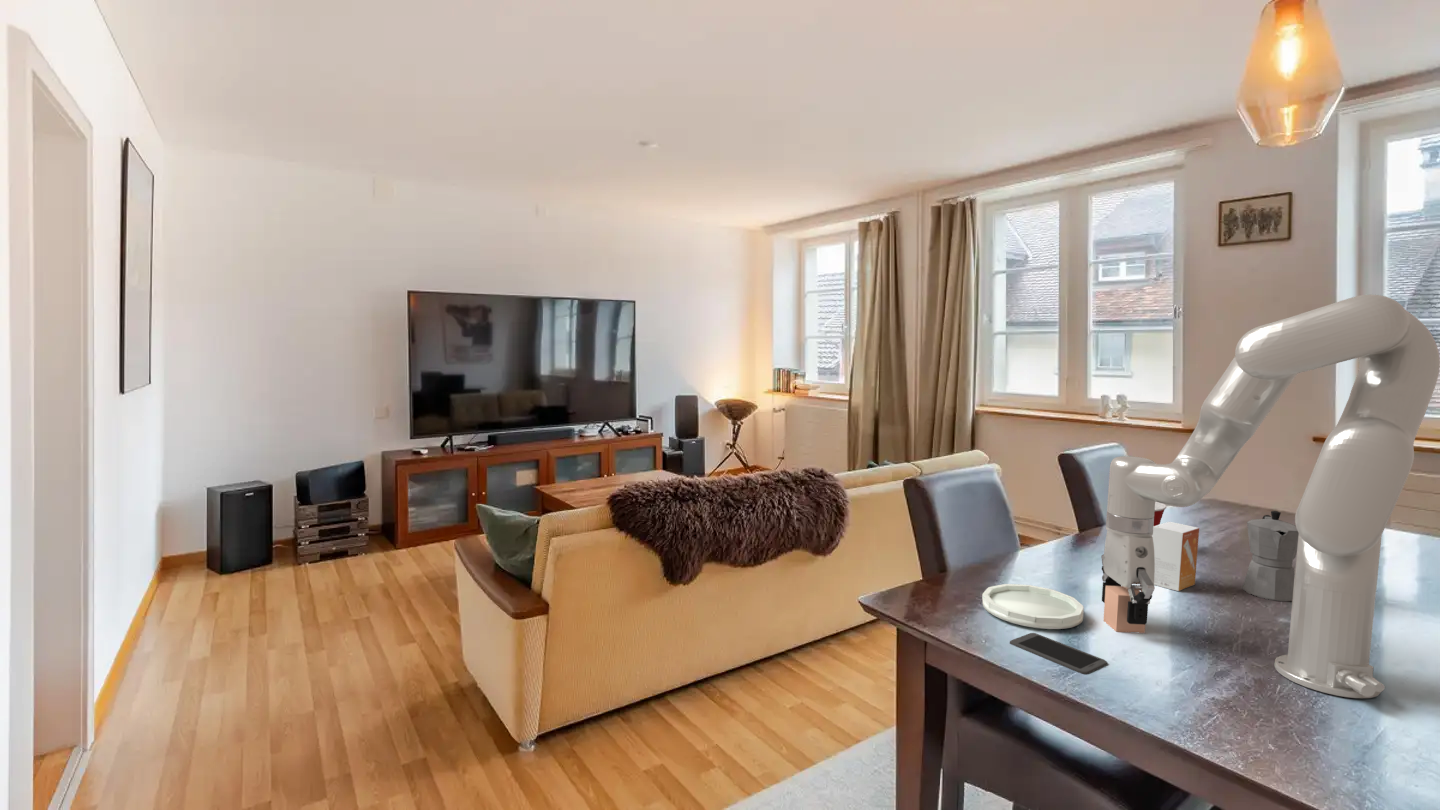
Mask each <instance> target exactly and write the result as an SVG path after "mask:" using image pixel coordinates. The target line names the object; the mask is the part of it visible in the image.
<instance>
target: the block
mask: <svg viewBox="0 0 1440 810" xmlns="http://www.w3.org/2000/svg"><path fill="white" fill-rule="evenodd" d="M1134 591H1135V594H1136V595H1137V594H1138V593H1139V592H1141V591H1137V590H1134ZM1128 601H1131V599H1130V596H1129V592H1128V589H1126V588H1125V587H1123V586H1122V585H1121V586H1106V587H1105V603H1103V605H1104V606H1103V622H1104V623H1105V622H1106V623H1105V624H1106V625H1107V626H1108V627H1110V628H1111V629H1112V630H1113V629H1114V630H1113V631H1114V632H1116V633H1131V632H1139V633H1138V634H1145V633H1146V624H1145V625H1144V624H1129V623H1128V622H1127V611H1128Z"/></svg>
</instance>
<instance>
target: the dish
mask: <svg viewBox="0 0 1440 810" xmlns="http://www.w3.org/2000/svg"><path fill="white" fill-rule="evenodd" d="M981 595H982V596H981V597H982V598H981V599H982V606H983V608H984V610H985V611H987V612H988V613H989V614H990V615H993V616H994V617H996V618H999V619H1001V620H1003V621H1006V622H1008V623H1011V624H1014V625H1015V624H1016V625H1020V626H1024V627H1028V628H1035V629H1044V630H1045V629H1047V630H1061V629H1062V630H1063V629H1070V628H1071V629H1072V628H1074V627H1077V626H1079V625H1081V623H1082V622H1083V620H1084V610H1085V609H1084V607H1085V606H1084V605H1083V604H1082V603H1080V602H1079V601H1078V600H1077V599H1076V598H1075V597H1074V596H1070V595H1068V594H1066V593H1063V592H1060V591H1058V590H1056V589H1051V588H1048V587H1047V588H1046V587H1041V586H1036V585H1030V584H1013V583H1003V584H998V585H992V586H988V587H987V588H986V589H985V590H984V592H982V594H981Z"/></svg>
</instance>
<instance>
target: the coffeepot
mask: <svg viewBox="0 0 1440 810" xmlns="http://www.w3.org/2000/svg"><path fill="white" fill-rule="evenodd" d="M1281 514H1282V512H1280V511H1278V510H1272V511H1270V515H1269V514H1264V515H1263V517H1262V518H1260V519H1259V518H1256V519H1253V518H1252V519H1250V520H1248V521H1247V522H1246V524H1247V536H1248V545H1249V552H1250V553H1251V554H1252V556H1251V560H1250V562H1249V565H1248V569H1247V572H1246V575H1245V578H1244V582H1243V585H1242V590H1243V591H1244V592H1245V591H1246V593H1247V594H1249V595H1251V594H1252V595H1251V596H1253V595H1254V596H1253V597H1256V596H1257V597H1256V598H1260V599H1264V598H1265V600H1268V599H1269V600H1268V601H1276V602H1292V599H1293V587H1294V576H1295V569H1294V568H1295V567H1293V563H1294V562H1293V561H1294V560H1295V559H1296V556H1297V546H1298V536H1299V533H1298V531H1297V528H1296V524H1294V523H1292V522H1287V521H1284V520H1281V519H1280V516H1281Z"/></svg>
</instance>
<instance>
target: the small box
mask: <svg viewBox="0 0 1440 810" xmlns="http://www.w3.org/2000/svg"><path fill="white" fill-rule="evenodd" d="M1199 536H1200V527H1198V526H1192V525H1187V524H1182V523H1178V522H1172V521H1166V522H1164V523H1160V524H1159V525H1156V526H1153V535H1152V537H1153V543H1154V555H1155V575H1154V586H1157V587H1161V588H1164V589H1168V590H1171V591H1172V590H1173V591H1176V592H1180V591H1182V590H1184V589H1186V588H1187V589H1188V588H1189V587H1192V586H1194V585H1195V584H1196V574H1197V562H1198V548H1199Z"/></svg>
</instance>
